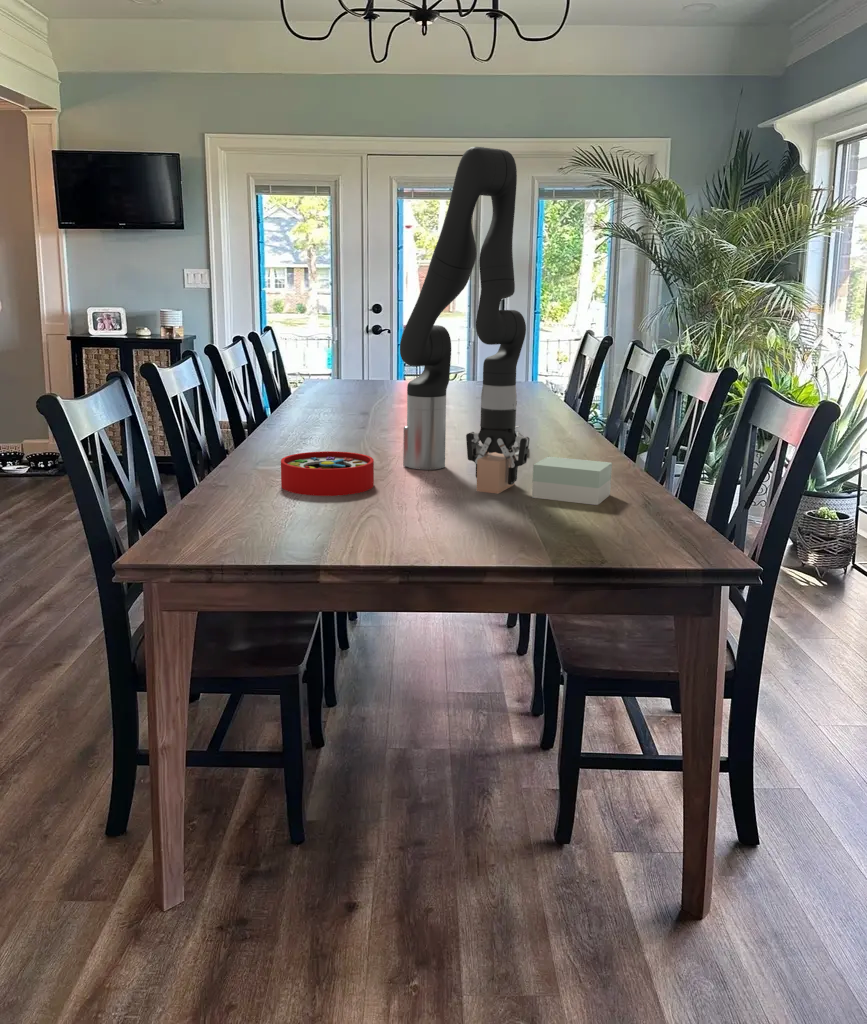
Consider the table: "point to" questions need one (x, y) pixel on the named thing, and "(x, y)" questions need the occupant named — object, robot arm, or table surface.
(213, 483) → the table surface
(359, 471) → the toy clock
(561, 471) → the green and white block
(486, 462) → the terracotta brick
